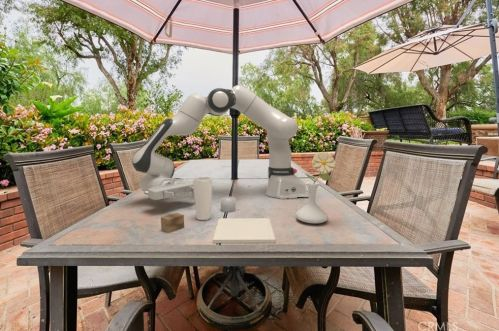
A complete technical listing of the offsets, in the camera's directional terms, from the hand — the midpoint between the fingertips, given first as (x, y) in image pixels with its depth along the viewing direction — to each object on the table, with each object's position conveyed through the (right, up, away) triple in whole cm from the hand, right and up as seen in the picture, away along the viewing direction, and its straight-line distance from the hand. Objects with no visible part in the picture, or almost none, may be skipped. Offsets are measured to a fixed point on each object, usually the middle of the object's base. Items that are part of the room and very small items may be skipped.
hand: (185, 192), depth 99 cm
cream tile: (+24, -10, -17) cm, 31 cm away
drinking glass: (+8, -9, -6) cm, 14 cm away
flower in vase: (+48, -9, -8) cm, 50 cm away
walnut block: (0, -10, -16) cm, 19 cm away
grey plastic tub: (+17, -8, +4) cm, 19 cm away
